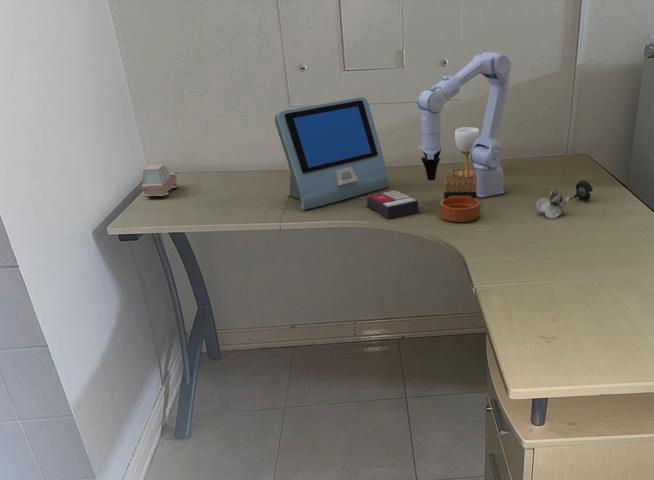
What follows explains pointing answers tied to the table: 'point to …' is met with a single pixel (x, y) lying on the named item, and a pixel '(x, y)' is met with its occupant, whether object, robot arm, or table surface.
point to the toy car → (158, 180)
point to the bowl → (460, 209)
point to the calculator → (392, 204)
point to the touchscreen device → (331, 152)
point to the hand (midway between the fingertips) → (431, 176)
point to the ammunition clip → (453, 188)
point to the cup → (466, 143)
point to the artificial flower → (553, 206)
